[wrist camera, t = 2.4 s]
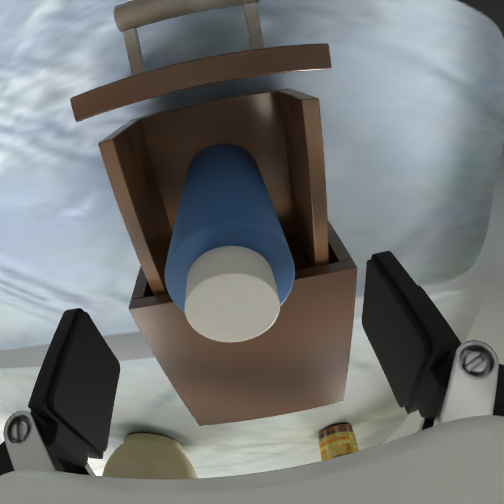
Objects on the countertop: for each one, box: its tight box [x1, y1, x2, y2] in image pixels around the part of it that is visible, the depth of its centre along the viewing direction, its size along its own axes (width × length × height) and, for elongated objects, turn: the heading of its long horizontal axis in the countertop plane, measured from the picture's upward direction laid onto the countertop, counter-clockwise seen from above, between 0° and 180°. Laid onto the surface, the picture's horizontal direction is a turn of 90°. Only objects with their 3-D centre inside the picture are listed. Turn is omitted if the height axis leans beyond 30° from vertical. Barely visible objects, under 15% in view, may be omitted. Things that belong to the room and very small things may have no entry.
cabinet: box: [129, 219, 357, 426], centre depth 24 cm, size 15×13×9 cm
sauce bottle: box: [319, 424, 359, 461], centre depth 39 cm, size 7×6×20 cm
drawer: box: [70, 0, 331, 296], centre depth 16 cm, size 18×11×7 cm, turn 8°
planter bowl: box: [102, 433, 198, 479], centre depth 40 cm, size 16×16×11 cm
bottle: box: [165, 144, 295, 342], centre depth 15 cm, size 5×5×12 cm
